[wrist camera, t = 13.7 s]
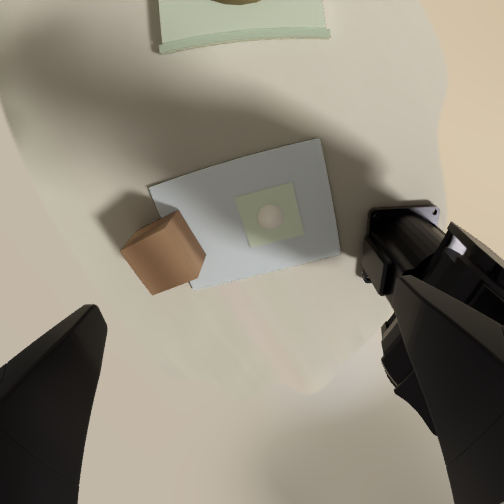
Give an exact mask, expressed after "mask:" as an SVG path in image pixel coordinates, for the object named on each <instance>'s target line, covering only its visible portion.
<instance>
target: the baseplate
mask: <svg viewBox="0 0 504 504" xmlns="http://www.w3.org/2000/svg"><path fill="white" fill-rule="evenodd" d="M159 13H160V25H161V36H162V43H163V44H161V45H159V50H160V54H162V55H164V54H168V53H173V52H177V51H182V50H187V49H193V48H198V47H204V46H211V45H218V44H225V43H233V42H243V41H254V40H269V39H329V38H331V33H330V29H326V28H327V27H326V20H325V13H324V7H323V1H322V0H261V1H259V2H256V3H251V4H244V5H228V4H222V3H218V2H215V1H211V0H159Z"/></svg>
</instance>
